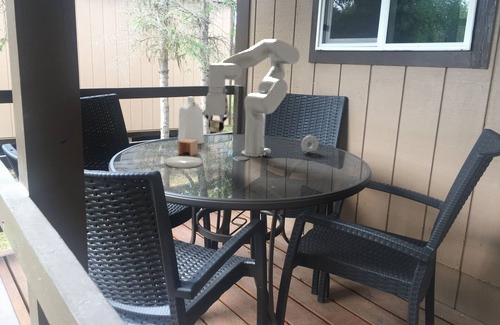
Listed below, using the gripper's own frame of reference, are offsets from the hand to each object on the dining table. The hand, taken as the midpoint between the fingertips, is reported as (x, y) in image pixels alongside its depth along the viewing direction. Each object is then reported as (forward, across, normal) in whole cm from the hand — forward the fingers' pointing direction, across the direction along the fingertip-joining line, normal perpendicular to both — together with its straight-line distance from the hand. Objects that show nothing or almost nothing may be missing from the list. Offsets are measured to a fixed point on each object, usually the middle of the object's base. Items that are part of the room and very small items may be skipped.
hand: (216, 129), depth 198 cm
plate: (+15, +11, +12) cm, 22 cm away
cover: (+15, +18, -6) cm, 24 cm away
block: (+1, 0, 0) cm, 1 cm away
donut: (+16, -38, -39) cm, 57 cm away
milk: (+16, +31, -35) cm, 49 cm away
